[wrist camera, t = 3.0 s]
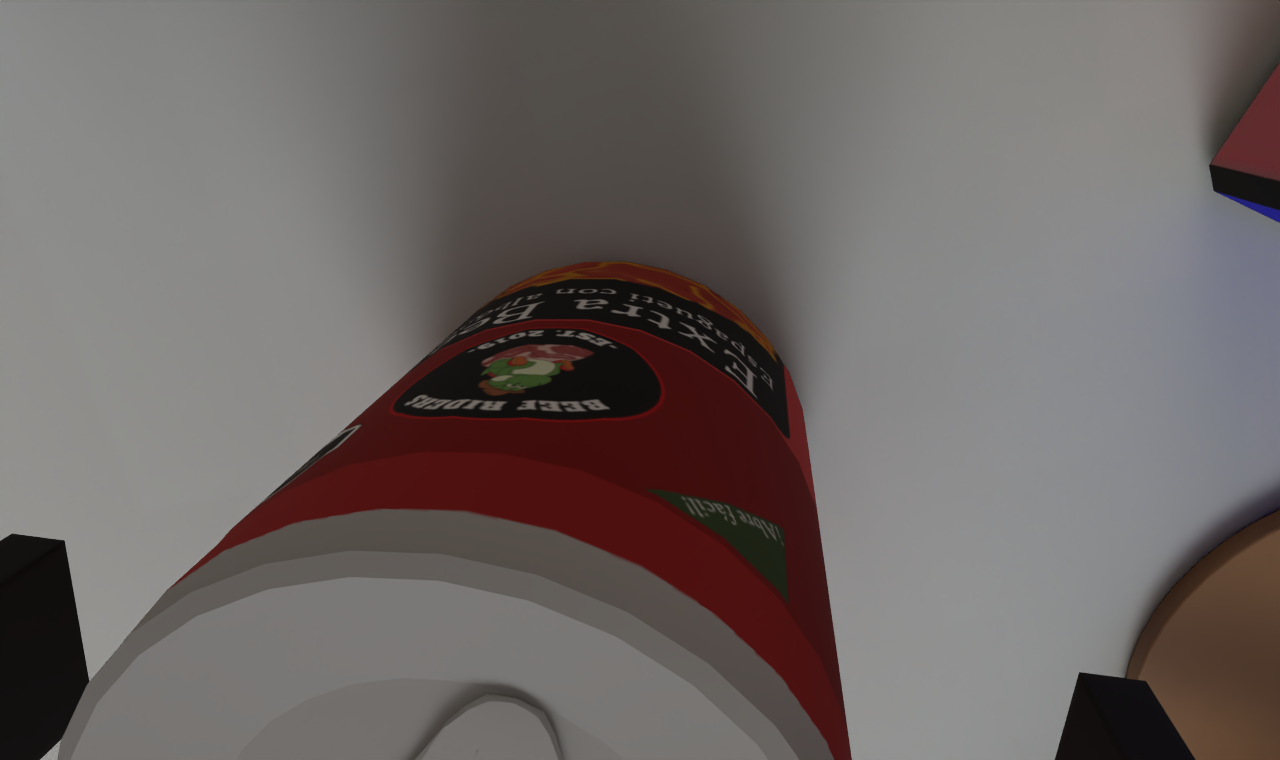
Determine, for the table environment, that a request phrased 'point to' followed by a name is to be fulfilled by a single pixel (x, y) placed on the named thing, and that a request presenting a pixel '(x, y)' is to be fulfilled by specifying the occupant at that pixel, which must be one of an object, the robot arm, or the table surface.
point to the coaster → (1221, 649)
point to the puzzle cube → (1253, 154)
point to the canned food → (516, 560)
